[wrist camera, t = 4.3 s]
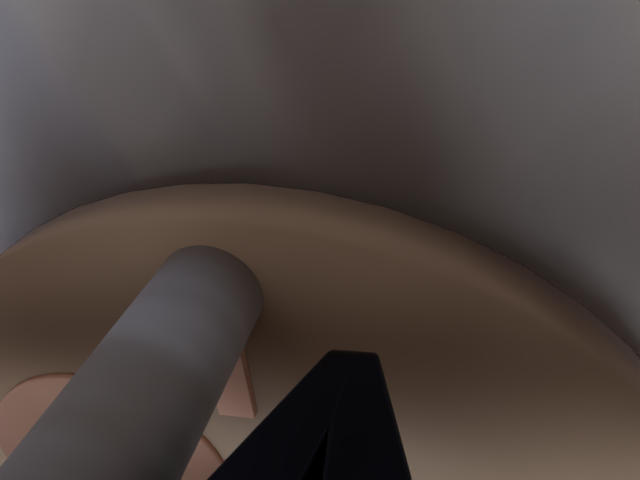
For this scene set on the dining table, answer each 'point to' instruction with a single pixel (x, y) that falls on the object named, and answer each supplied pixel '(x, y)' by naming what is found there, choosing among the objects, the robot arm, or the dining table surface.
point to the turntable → (293, 340)
